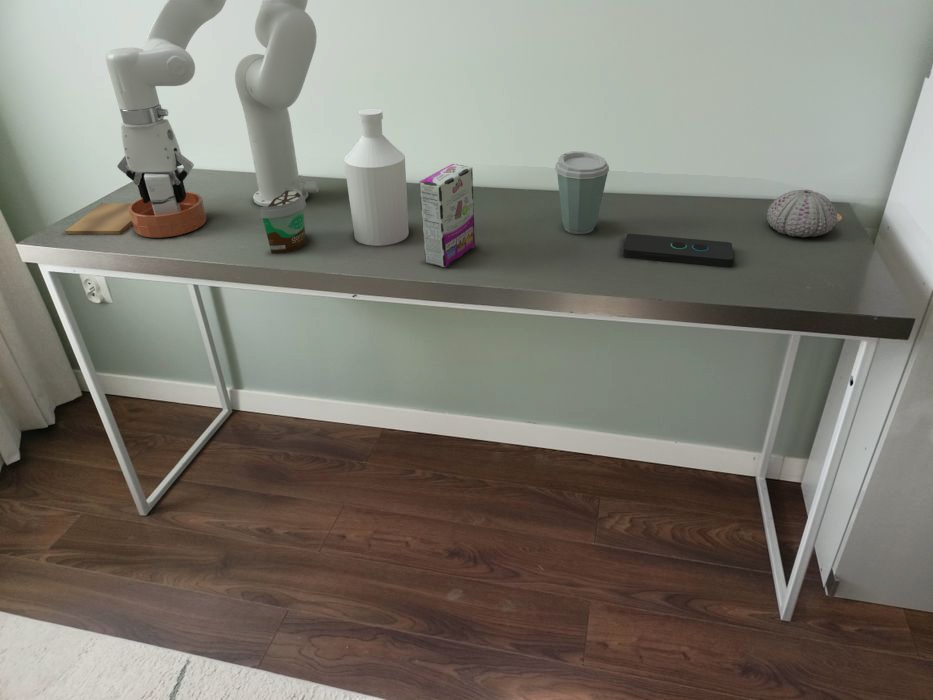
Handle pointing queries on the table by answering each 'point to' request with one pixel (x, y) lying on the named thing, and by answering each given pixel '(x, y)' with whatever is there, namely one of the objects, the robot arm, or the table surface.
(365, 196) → the bottle
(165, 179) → the ink box
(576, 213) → the disposable coffee cup
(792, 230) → the sea urchin shell
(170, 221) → the bowl
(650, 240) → the smart home device
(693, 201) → the table surface
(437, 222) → the candy bar box
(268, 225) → the food container
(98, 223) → the wooden board
